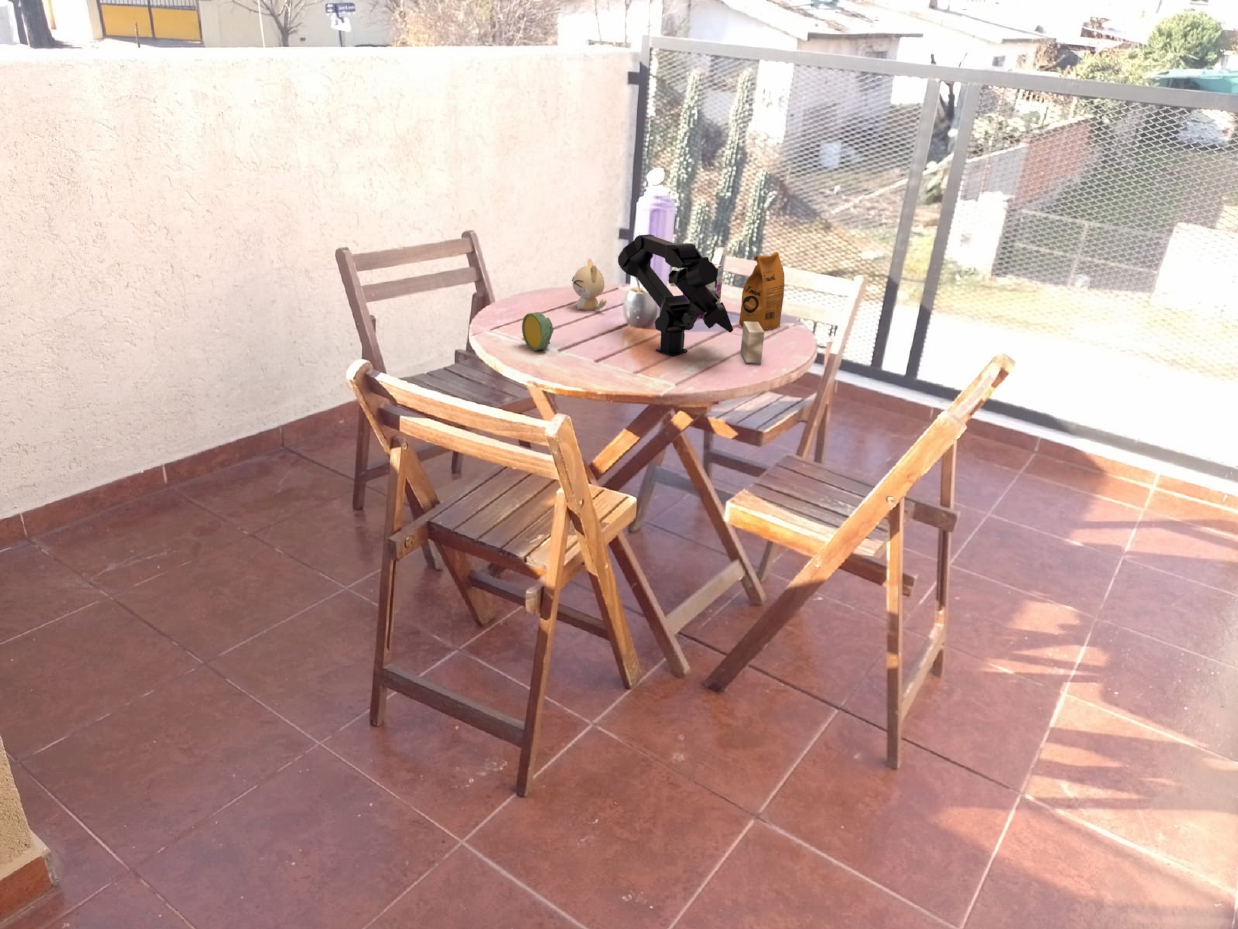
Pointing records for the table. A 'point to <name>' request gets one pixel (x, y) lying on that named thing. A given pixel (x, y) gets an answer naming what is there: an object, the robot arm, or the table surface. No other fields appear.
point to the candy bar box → (715, 284)
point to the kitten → (589, 287)
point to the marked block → (752, 343)
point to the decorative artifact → (537, 330)
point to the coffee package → (764, 293)
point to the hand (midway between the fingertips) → (731, 331)
